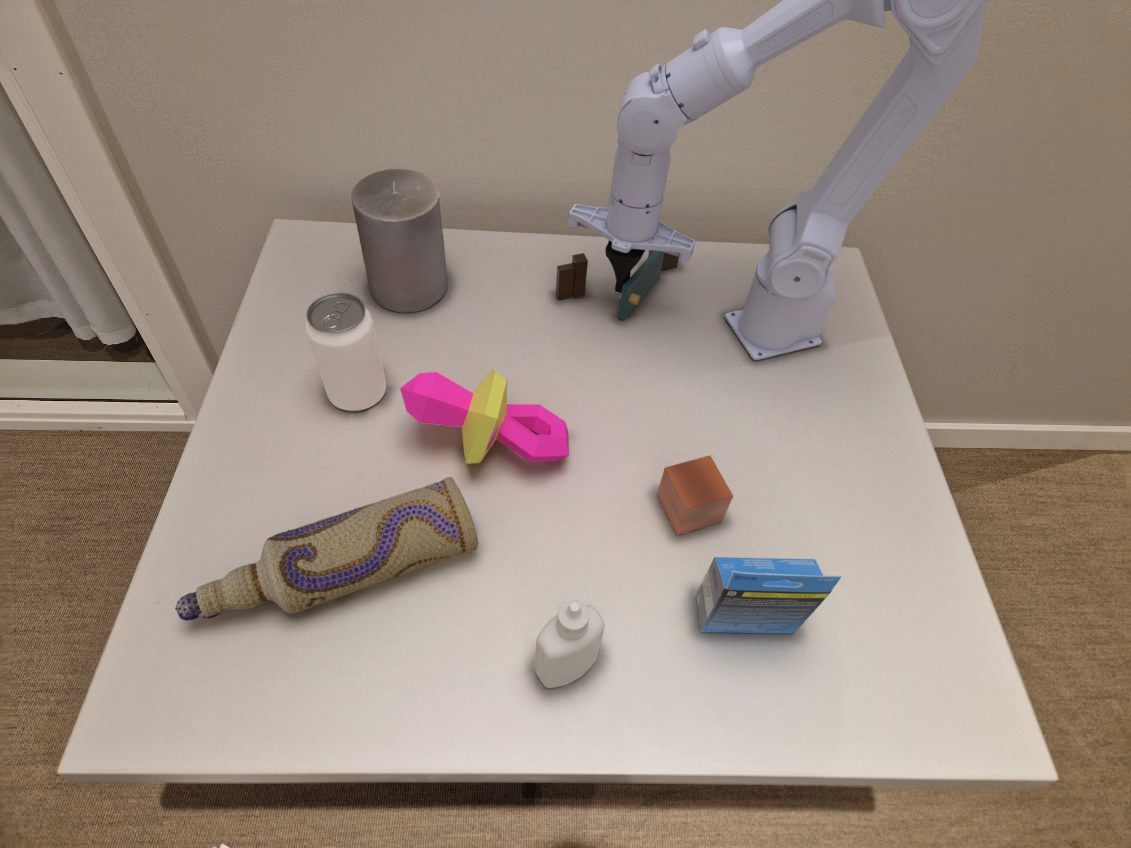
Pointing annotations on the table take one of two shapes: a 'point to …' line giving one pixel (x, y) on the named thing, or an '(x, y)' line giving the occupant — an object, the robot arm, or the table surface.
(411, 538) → the decorative bottle
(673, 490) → the block
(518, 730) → the table surface
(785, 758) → the table surface
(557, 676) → the eye dropper bottle
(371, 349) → the can
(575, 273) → the gate
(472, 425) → the toy
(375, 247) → the pillar candle
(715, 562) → the label tape box
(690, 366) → the table surface
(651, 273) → the gate door
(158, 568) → the table surface
